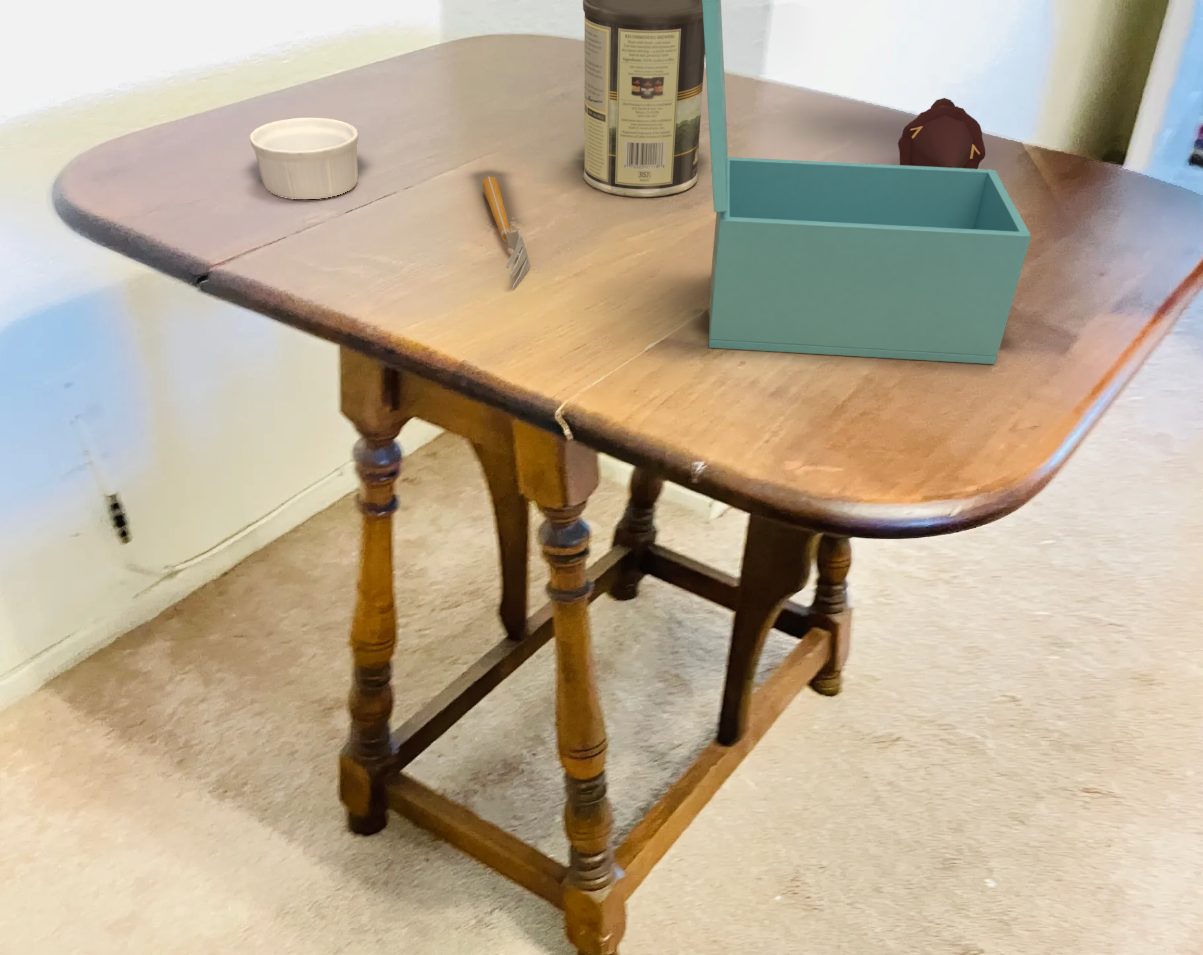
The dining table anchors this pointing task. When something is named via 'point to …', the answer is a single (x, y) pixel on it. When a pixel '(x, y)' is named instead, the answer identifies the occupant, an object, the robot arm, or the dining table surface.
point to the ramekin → (307, 157)
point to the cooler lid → (716, 100)
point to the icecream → (942, 138)
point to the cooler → (865, 260)
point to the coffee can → (643, 95)
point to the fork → (506, 229)
